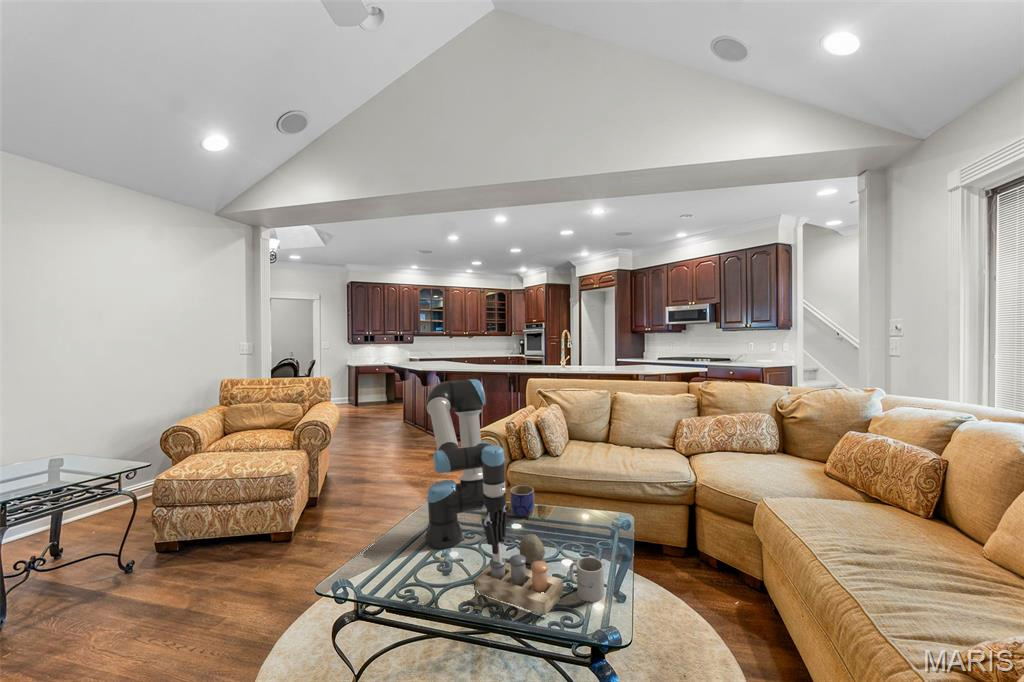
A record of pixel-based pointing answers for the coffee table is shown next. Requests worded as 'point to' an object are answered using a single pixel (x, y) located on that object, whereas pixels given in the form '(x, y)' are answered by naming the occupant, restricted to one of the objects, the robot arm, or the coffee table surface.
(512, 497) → the planter
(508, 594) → the block
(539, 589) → the terracotta plug
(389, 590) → the coffee table surface
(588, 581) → the mug
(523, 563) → the slate plug
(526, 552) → the decorative stone
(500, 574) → the slate plug
